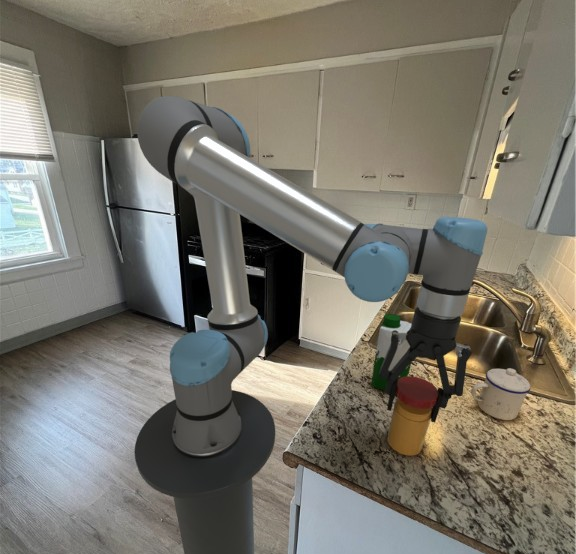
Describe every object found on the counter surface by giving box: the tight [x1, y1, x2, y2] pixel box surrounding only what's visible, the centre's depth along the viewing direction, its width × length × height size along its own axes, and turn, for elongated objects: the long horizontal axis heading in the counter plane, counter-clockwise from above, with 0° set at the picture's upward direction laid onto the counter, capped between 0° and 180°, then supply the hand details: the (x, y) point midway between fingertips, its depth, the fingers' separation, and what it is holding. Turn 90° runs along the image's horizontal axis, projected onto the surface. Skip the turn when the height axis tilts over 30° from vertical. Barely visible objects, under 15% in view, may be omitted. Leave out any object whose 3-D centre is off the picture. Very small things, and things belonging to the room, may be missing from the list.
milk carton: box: [371, 313, 412, 396], centre depth 82 cm, size 9×9×20 cm
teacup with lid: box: [470, 367, 531, 421], centre depth 76 cm, size 12×9×12 cm
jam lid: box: [395, 375, 438, 409], centre depth 62 cm, size 8×8×2 cm
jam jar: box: [386, 397, 432, 457], centre depth 66 cm, size 7×7×11 cm
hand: (410, 411), depth 64 cm, fingers closed on jam lid, 8 cm apart
